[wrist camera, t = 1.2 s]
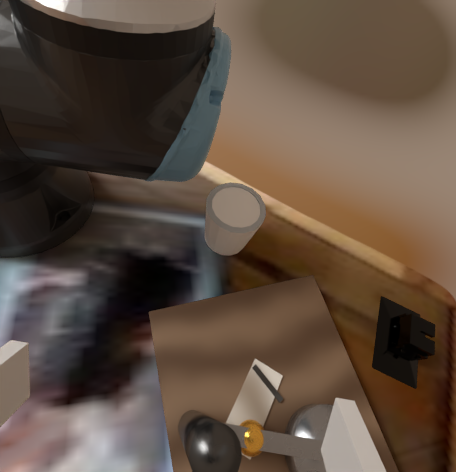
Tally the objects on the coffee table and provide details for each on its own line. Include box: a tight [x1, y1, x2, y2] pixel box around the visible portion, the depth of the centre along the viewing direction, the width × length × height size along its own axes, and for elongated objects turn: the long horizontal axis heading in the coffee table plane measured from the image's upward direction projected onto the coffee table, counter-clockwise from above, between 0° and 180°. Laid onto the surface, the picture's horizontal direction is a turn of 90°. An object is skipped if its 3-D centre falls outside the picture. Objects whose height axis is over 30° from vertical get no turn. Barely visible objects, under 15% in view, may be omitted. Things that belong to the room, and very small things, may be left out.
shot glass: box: [205, 183, 266, 256], centre depth 34 cm, size 7×7×7 cm
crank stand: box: [149, 275, 399, 472], centre depth 27 cm, size 26×20×2 cm
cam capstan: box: [178, 404, 333, 472], centre depth 19 cm, size 17×7×14 cm, turn 81°
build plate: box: [372, 296, 435, 389], centre depth 33 cm, size 12×7×5 cm, turn 156°
